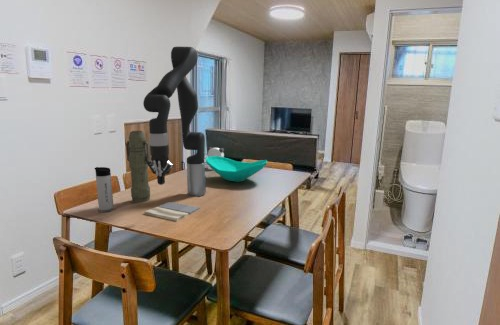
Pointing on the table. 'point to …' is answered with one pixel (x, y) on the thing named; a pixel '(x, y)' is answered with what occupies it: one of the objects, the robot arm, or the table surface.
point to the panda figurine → (215, 153)
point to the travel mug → (104, 189)
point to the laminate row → (179, 207)
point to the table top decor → (234, 168)
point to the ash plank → (166, 213)
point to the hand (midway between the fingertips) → (161, 184)
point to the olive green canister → (138, 166)
